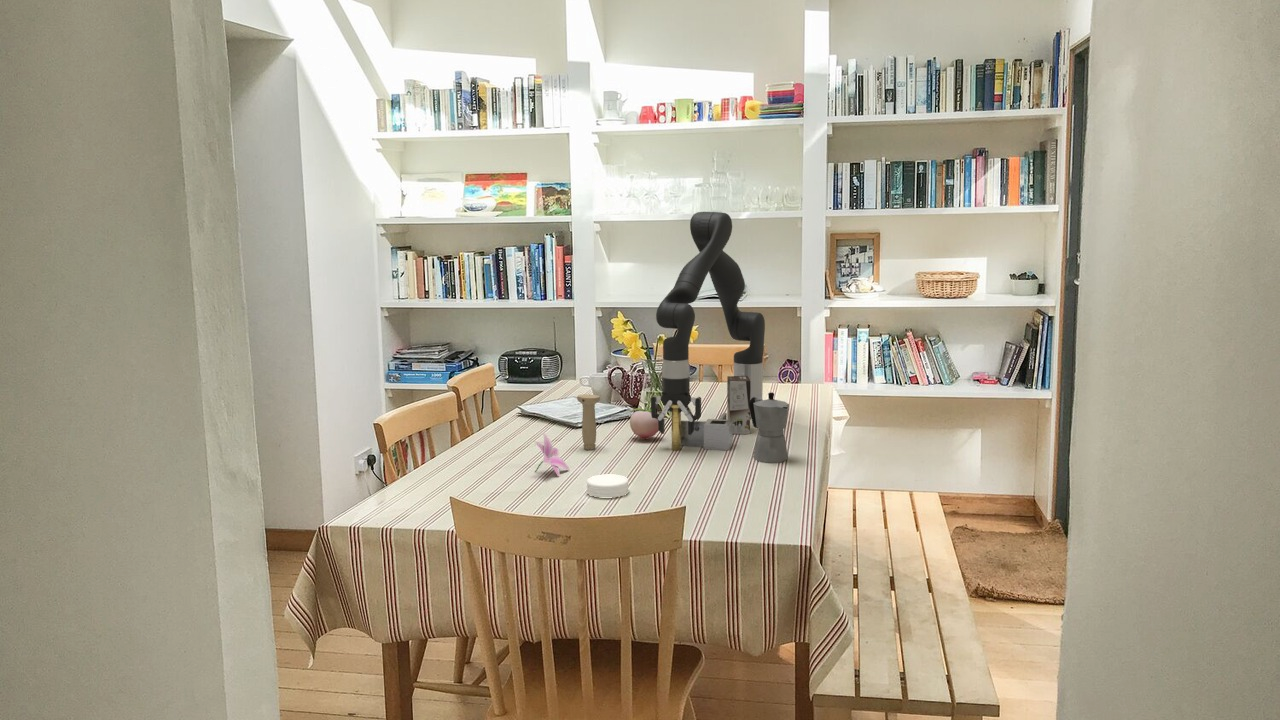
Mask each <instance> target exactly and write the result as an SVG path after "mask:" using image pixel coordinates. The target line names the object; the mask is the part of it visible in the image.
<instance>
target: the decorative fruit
mask: <svg viewBox="0 0 1280 720" xmlns="http://www.w3.org/2000/svg"><path fill="white" fill-rule="evenodd" d="M646 407H647V405H644V408H642V407H640V408H639V407H637V408H633V409H632V410H630V413H632V414H631V416H630V419H629V426H630V429H631V431H632V432H633V434H634V435H636V436H637V437H639V438H641V439H644V440H648V439H650V438H653V437H654V436H655V435H656V434H657V433H658V432H659V430H658V420H657V419H656V418H652V416H651V408H649V409H647V408H646ZM657 413H658V414H660V412H659V411H657Z"/></svg>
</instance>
